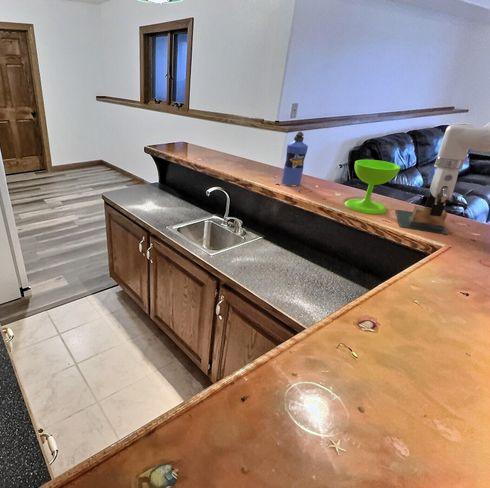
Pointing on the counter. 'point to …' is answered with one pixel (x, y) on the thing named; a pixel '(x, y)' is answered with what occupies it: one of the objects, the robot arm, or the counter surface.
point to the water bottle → (294, 161)
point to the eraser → (426, 218)
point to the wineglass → (372, 184)
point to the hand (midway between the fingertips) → (432, 211)
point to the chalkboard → (404, 223)
